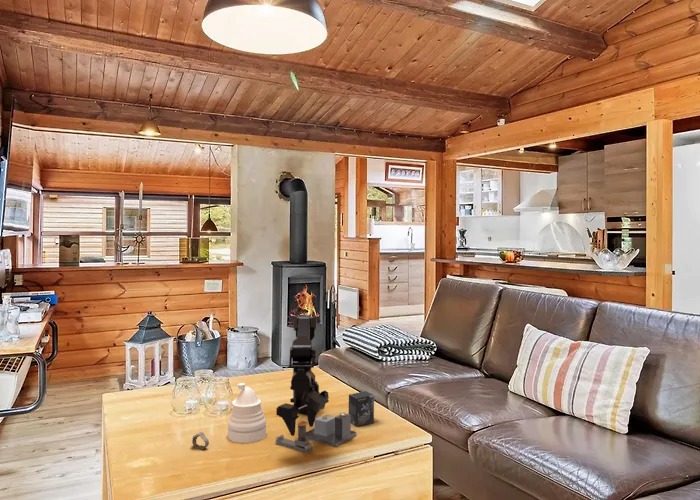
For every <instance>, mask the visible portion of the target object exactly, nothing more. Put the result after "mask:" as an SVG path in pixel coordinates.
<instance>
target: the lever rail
mask: <svg viewBox="0 0 700 500" xmlns="http://www.w3.org/2000/svg"><path fill="white" fill-rule="evenodd" d="M284 437H285V436H284V434H279V435H278V436H277V435H276V437H275V444H276V445H279V446H281V447H285V448H288V449H291V450H294V451H298V452H302V453H304V454H308V453H309V452H311V451H313V443H312V442H309V444H307V445H305V447H301V446H298V445H295V440H292V439H289V438H284Z"/></svg>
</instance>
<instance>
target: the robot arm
mask: <svg viewBox="0 0 700 500" xmlns="http://www.w3.org/2000/svg"><path fill="white" fill-rule="evenodd" d="M317 320H318V319H317V318H315V317H313V316H312V315H310V314H303V315H302V314H299V315H297V317H295V318H293V325H292V326H293V331H295V339H294V340H293V341H292V345H291V346H290V348H289V364H288V367H289V369H292V376H291V380H290V387H289V388H290V390H292V398H289V399H290V403H283V404H280V405H279V406H277V407H276V409H275V410H276V413H275V414H276V416H277V417H279V418H281V419H282V420H283V422H284V423H285V426H286V428H287V429H288V432H289V434H290V436H291V437H294V436H295V434H296V425H297V424H296V422H297V419H298V418H299V417H300V415H299V414H301V415H306V417H307V422H308V423H307V424H308V426H309V428H310V427H311V428H312V427H314V425H315V419H316V418H317V414H318V412H319V411H320V410H323V409H325V406H326V404H328V403H329V401H330V400H329V392H328V391H327V390H322V391H321V392H320V386H319V384H318V381H316V375H315V373H313V371H312V368H313V369H314V366H315V365H316V363H317V362H316V361H317V350H316V349H315V347H314V346H313V340H314V338H315V336H316V335H315V334H316V331H317V330H318V327H317V326H318V325H317V323H318V321H317ZM291 403H293V404H291Z"/></svg>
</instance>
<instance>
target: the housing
mask: <svg viewBox="0 0 700 500" xmlns="http://www.w3.org/2000/svg"><path fill="white" fill-rule="evenodd" d="M314 428H315V432H316V433H319V434H323V435H328V434H330V433H332V432H333V431H335V417H333V416H329V415H328V413H322V415H321V416H318V417H315V421H314Z"/></svg>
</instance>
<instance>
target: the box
mask: <svg viewBox="0 0 700 500" xmlns="http://www.w3.org/2000/svg"><path fill="white" fill-rule="evenodd" d="M348 414H350V415H351V426H354V427H355V428H357V427H361V426H366V425H369V424H370V425H371V424H374V423H375V421H374V420H375V395H374V394H373V393H372V392H368V391H366V390H365V391H359V392H355V393H354V392H353V393H350V394H348Z"/></svg>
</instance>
